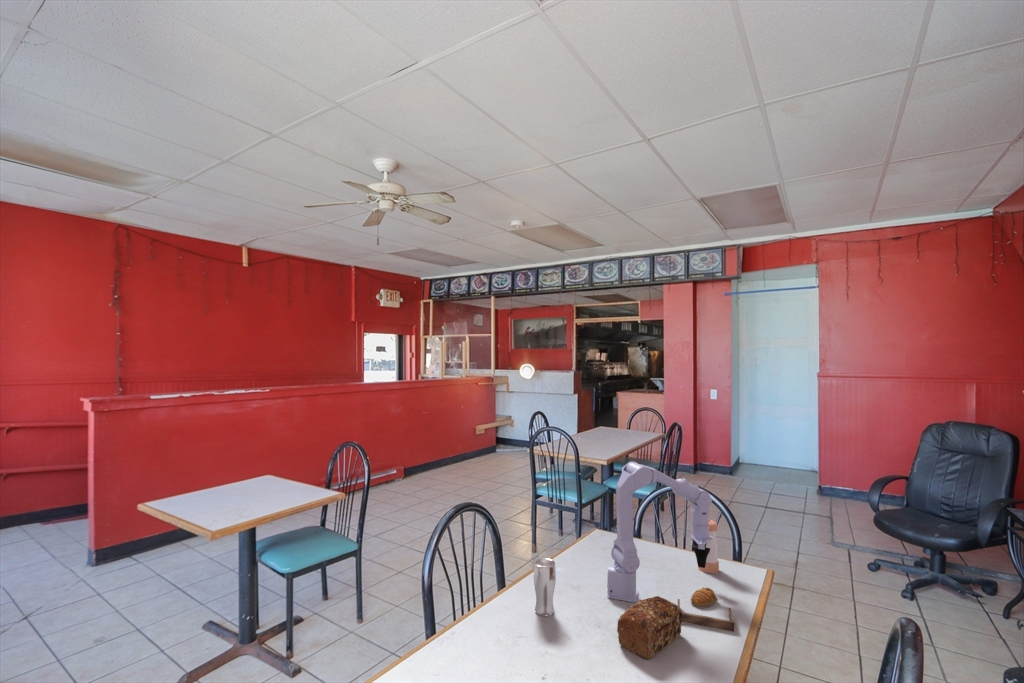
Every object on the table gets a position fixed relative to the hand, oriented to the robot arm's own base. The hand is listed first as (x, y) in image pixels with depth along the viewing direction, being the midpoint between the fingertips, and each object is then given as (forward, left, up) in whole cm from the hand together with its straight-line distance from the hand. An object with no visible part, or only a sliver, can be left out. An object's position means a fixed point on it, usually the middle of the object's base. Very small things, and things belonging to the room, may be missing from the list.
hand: (700, 562), depth 163 cm
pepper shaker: (+3, +17, -9) cm, 20 cm away
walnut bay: (0, -21, -9) cm, 23 cm away
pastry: (0, -10, -9) cm, 14 cm away
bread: (-15, -38, -9) cm, 42 cm away
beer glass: (-48, -34, -9) cm, 59 cm away
